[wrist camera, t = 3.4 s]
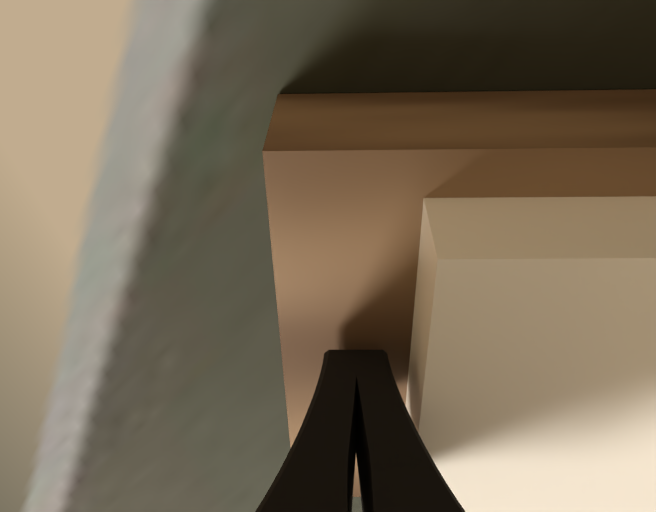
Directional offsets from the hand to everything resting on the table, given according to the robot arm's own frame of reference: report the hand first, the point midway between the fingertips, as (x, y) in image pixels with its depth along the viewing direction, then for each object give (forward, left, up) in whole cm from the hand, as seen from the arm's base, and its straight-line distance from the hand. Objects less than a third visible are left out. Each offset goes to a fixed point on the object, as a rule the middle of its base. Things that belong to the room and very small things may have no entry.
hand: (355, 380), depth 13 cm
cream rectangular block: (0, -4, 0) cm, 4 cm away
